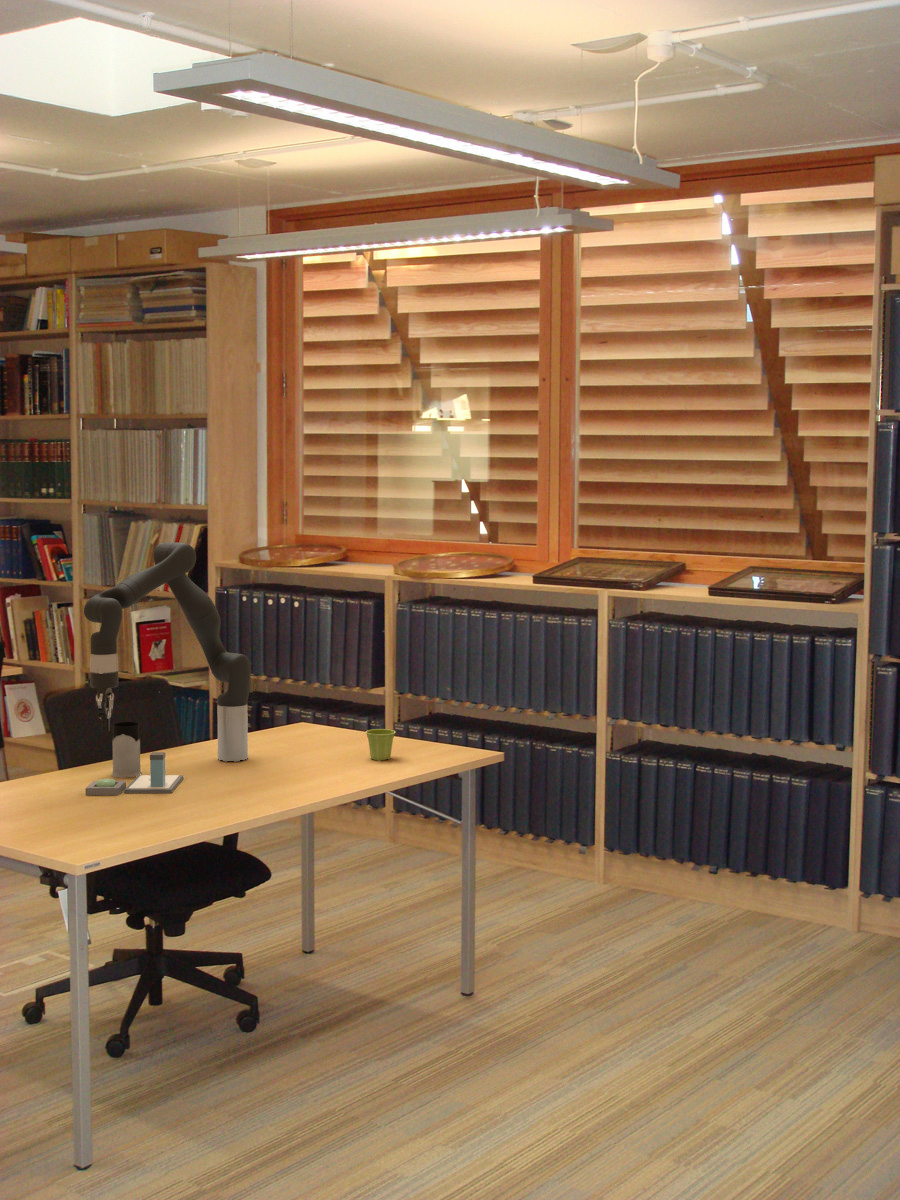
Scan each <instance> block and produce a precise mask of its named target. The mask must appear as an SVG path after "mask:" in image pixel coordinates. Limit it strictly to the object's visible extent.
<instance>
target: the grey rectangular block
mask: <svg viewBox="0 0 900 1200" xmlns="http://www.w3.org/2000/svg"><path fill="white" fill-rule="evenodd" d="M149 762H150V763H149V764H150V765H149V766H150V773H149V775H151V787H163V786H164V785H165V775H166V752H164V751H163V752H161V751H160V752H158V751H156V752H155V751H151V753H150V754H149Z"/></svg>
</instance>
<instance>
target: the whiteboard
mask: <svg viewBox="0 0 900 1200" xmlns="http://www.w3.org/2000/svg"><path fill="white" fill-rule="evenodd" d="M182 779H184V775H183V774H165V785H164V786H163V787H151V775H150V774H142V775H138V776H137V777H134V779H133V780H132V781H130V783H129V784H128V785H126V788H125V789H124V790H123V792H124V794H173V792H174V791H175V790H176V788H177V787H178V786H179V785H178V784H180V783H181V782H182V781H183V780H182ZM181 780H182V781H181ZM177 785H178V786H177ZM176 786H177V787H176ZM174 789H175V790H174ZM173 790H174V791H173ZM172 791H173V792H172Z"/></svg>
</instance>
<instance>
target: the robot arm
mask: <svg viewBox="0 0 900 1200" xmlns="http://www.w3.org/2000/svg"><path fill="white" fill-rule="evenodd" d="M152 556H153V562H154V565H152V566H150V567H148V568H145V569H142V570H141V571H137V572H135V573H132V574H131V575H129V576H128V577H126V578H125V579H123V580H122V581H120V582H118V584H116V585H115V586H113V587H112V588H108V589H106V590H104V591H101V592H99V593H97V594H95V595H93V596H92V597H91V598H89V599H88V600H87V601H86V603H85V604H84V606H83V615H84V617H85V618H86V620H88V621H89V622H92V623H95V624H96V623H98V624H101V625H100V628H99V631H96V632H92V634H90V635H91V636H90V658H89V681H90V682H89V685H90V687H91V688H92V689H93V688H94V689H97V694H95V701H94V707H95V711H96V715H97V718H98V719H100V732H101V733H109V732H110V730H111V725H110V724H111V722H110V721H111V717H112V714H113V709H114V704H115V702H114V701H115V698H116V697H115V694H114V693H113V691H112V690H113V689H114V688H117V687H118V686H119V658H118V645H117V644H118V643H117V642H118V641H117V639H118V635H119V632H120V627H121V623H122V619H123V609H128V608H130V607H131V606H133V605H134V604H135V603H137V602H138V601H140V600H141V599H143V598H144V597H145V596H146V595H148V594H150V593H151V592H152V591H154V590H156V589H157V588H160V587H161V586H162V585H164V584H166V585H168V587H169V589H170V590H171V592H172V594H173V596H174V598H175V599H176V601H177V603H178V606H180V608H181V610H182V612H183V614H184V617H185V619H186V620H187V622H188V625H189V626H190V628H191V629H192V631H193V633H194V634H195V637H196V640H197V641H198V643H199V646H200V647H201V649H202V651H203V654H204V656H205V659H206V661H207V664H208V667H209V669H210V671H211V672H210V673H212V675H213V678H215V679H216V680H218V681H219V682H223V683H227V684H228V685H227V691H225V692H223V693H221V694H219V695H217V703H216V705H217V706H216V708H217V712H216V713H217V760H218V759H219V760H218V761H220V760H223V761H222V762H227V761H234V762H241V761H240V760H243V761H246V760H248V759H249V755H248V753H249V748H248V745H249V744H248V741H249V739H248V738H249V736H248V735H249V734H248V733H249V729H248V726H249V725H248V724H249V721H248V720H249V719H248V716H249V715H248V699H249V697H250V696H249V695H250V693H251V674H252V673H251V672H252V669H251V662H250V659H249V658H248V656H247V655H246V654H242V653H236V652H228V650H227V649H226V647H224V645H223V642H222V640H221V638H220V633H221V632H220V631H221V625H222V624H221V616H220V613H219V611H218V609H217V608H216V605H215V603H214V601H213V599H211V597H210V596H209V594H207V593H206V592H205V591H204V590H203V589H202V588H201V587H199V586H198V585H197V584H195V583H194V582H193V581H192V579H191V578H190V577H189V576H188V575H187V573H189V572H190V571H192V569H193V568H194V567H195V564H196V561H197V555H196V551H195V549H194V547H193V545H191V544H189V543H186V542H175V541H174V542H173V541H172V542H168V541H167V542H161V543H158V544H157V545H156V546H155V547H154V550H153V554H152ZM112 688H113V689H112ZM247 758H248V759H247ZM245 759H246V760H245Z"/></svg>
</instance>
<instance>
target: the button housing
mask: <svg viewBox="0 0 900 1200" xmlns="http://www.w3.org/2000/svg"><path fill="white" fill-rule="evenodd" d="M96 781H97V780H93V781H91V782H90V783H89V784H88V785H87V786H85V794H84V795H85V796H119V795H120V794H121V793H123V792H124V789H125V788H126V787H127V781H126V780H115V786H114V787H97V783H96Z"/></svg>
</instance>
